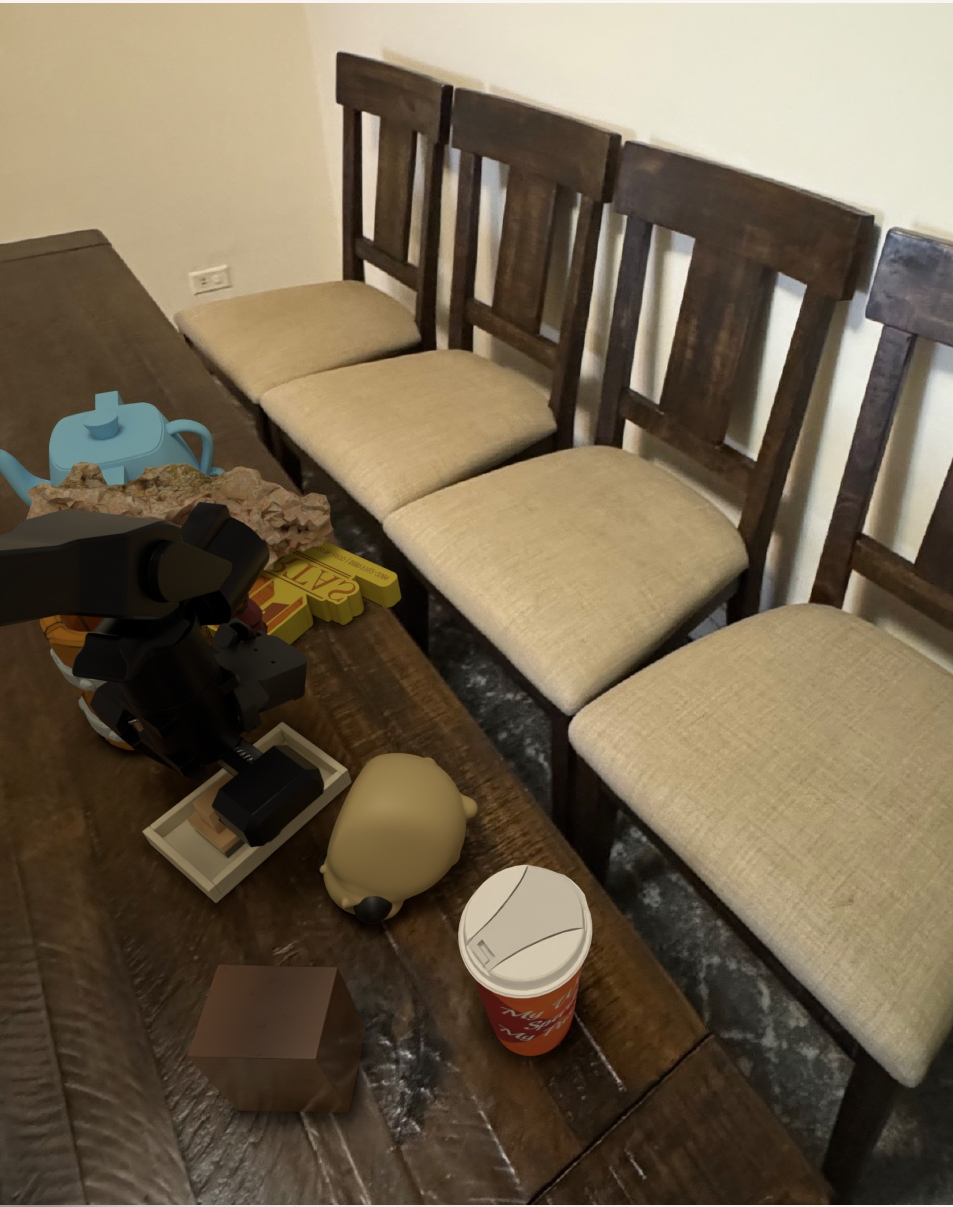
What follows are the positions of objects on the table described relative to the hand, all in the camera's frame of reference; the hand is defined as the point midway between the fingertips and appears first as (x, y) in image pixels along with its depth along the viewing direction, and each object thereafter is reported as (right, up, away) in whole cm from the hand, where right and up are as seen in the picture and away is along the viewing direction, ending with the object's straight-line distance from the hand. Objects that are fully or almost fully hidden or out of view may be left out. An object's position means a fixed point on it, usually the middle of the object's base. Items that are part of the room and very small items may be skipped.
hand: (236, 806), depth 65 cm
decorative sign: (0, +22, +23) cm, 32 cm away
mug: (-9, +7, +10) cm, 15 cm away
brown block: (+9, -14, -11) cm, 20 cm away
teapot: (-23, +23, +26) cm, 42 cm away
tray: (+1, -1, +2) cm, 2 cm away
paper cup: (+24, -12, -8) cm, 28 cm away
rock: (-9, +17, +17) cm, 25 cm away
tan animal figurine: (+13, -4, -1) cm, 14 cm away
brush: (0, -1, +1) cm, 2 cm away
